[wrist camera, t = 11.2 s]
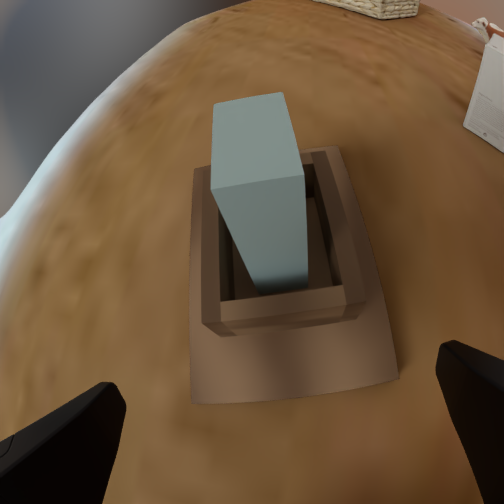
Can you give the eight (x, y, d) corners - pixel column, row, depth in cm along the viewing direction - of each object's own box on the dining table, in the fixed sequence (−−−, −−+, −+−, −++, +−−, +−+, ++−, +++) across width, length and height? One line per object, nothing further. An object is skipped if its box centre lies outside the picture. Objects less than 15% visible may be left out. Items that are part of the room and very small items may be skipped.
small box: (503, 155, 21) (538, 76, 12) (460, 126, 23) (484, 43, 14) (511, 125, 23) (536, 57, 13) (475, 100, 25) (493, 31, 16)
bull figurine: (465, 46, 32) (471, 10, 25) (522, 72, 28) (532, 39, 21) (470, 55, 31) (477, 17, 24) (530, 82, 27) (541, 48, 19)
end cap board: (336, 153, 24) (338, 111, 20) (394, 379, 15) (420, 373, 11) (197, 176, 25) (180, 138, 21) (197, 403, 17) (165, 403, 13)
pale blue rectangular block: (297, 218, 20) (282, 91, 11) (308, 287, 18) (304, 174, 9) (253, 224, 21) (213, 104, 12) (258, 294, 18) (210, 189, 9)
